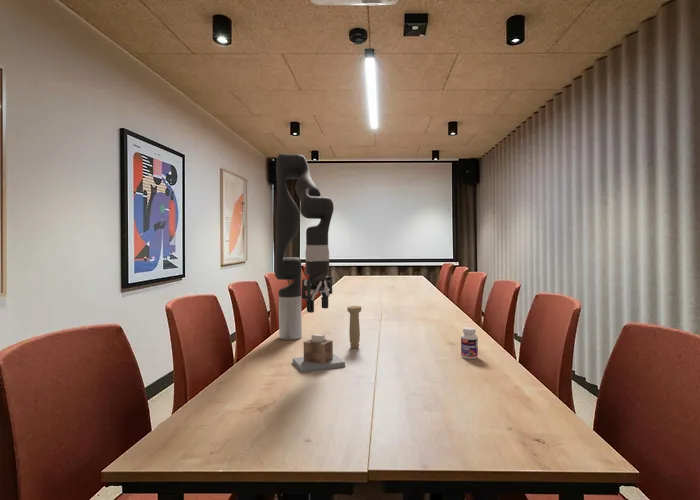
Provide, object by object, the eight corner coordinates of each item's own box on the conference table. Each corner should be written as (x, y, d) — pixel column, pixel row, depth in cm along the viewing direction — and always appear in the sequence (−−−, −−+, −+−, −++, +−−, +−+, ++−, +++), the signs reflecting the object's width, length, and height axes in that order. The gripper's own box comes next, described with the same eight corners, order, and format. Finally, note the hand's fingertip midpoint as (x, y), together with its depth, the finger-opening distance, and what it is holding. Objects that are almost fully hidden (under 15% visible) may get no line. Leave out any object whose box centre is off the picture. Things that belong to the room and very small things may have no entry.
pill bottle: (460, 358, 135) (459, 329, 135) (462, 354, 140) (461, 326, 140) (477, 360, 133) (476, 330, 133) (478, 355, 138) (478, 327, 138)
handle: (363, 345, 154) (363, 306, 154) (357, 350, 148) (357, 308, 148) (352, 344, 156) (351, 305, 155) (345, 348, 150) (344, 308, 149)
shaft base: (292, 362, 133) (292, 333, 133) (333, 357, 138) (333, 329, 138) (301, 372, 122) (301, 340, 122) (345, 366, 128) (344, 336, 128)
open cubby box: (303, 360, 129) (303, 340, 129) (313, 356, 134) (313, 337, 134) (323, 363, 126) (323, 343, 126) (332, 359, 131) (332, 339, 131)
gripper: (319, 258, 138) (319, 306, 138) (294, 260, 125) (295, 313, 125) (338, 258, 134) (339, 307, 135) (315, 260, 122) (315, 314, 122)
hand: (317, 310), depth 130 cm, fingers open, 8 cm apart
